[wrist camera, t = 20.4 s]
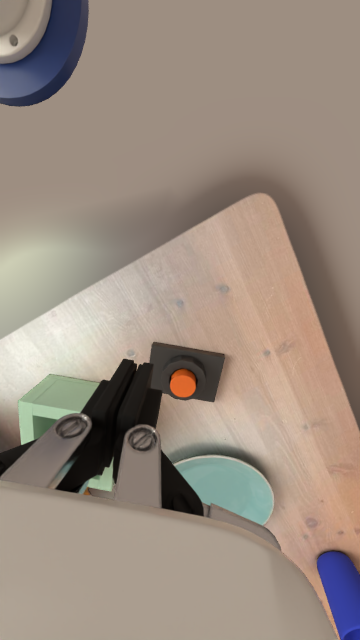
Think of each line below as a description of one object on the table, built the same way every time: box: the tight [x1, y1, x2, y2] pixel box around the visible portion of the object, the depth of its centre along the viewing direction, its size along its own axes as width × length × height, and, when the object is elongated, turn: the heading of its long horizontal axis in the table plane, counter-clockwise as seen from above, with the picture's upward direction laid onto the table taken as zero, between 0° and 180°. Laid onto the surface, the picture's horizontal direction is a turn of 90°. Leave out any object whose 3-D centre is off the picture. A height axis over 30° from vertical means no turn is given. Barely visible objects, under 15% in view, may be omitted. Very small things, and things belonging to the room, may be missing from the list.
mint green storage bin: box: [18, 374, 115, 491], centre depth 35 cm, size 14×14×7 cm
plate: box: [173, 455, 274, 526], centre depth 41 cm, size 22×22×3 cm
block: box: [150, 342, 225, 402], centre depth 33 cm, size 11×8×3 cm
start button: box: [170, 369, 196, 397], centre depth 32 cm, size 4×4×2 cm
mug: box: [317, 551, 360, 640], centre depth 41 cm, size 8×12×10 cm
